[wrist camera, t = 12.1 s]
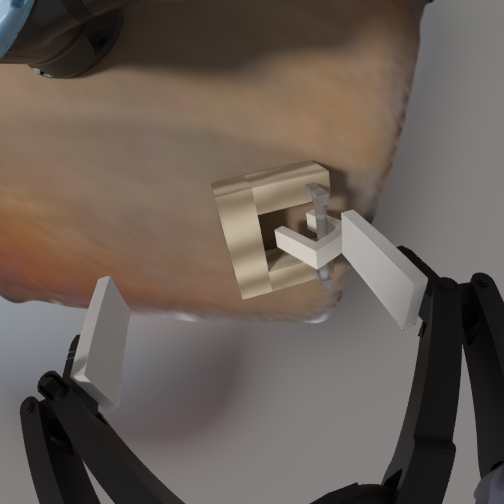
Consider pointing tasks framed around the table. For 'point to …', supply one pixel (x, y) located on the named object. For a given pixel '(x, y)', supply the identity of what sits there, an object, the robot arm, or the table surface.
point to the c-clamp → (248, 229)
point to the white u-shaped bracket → (312, 242)
